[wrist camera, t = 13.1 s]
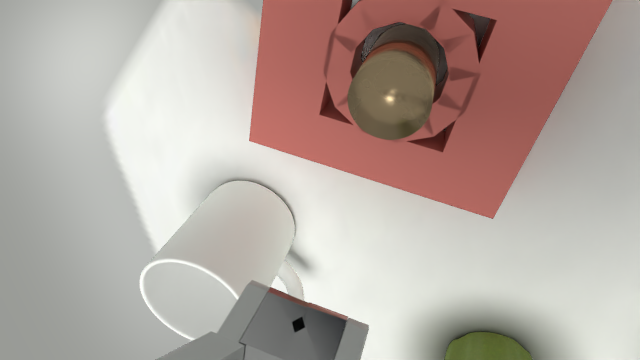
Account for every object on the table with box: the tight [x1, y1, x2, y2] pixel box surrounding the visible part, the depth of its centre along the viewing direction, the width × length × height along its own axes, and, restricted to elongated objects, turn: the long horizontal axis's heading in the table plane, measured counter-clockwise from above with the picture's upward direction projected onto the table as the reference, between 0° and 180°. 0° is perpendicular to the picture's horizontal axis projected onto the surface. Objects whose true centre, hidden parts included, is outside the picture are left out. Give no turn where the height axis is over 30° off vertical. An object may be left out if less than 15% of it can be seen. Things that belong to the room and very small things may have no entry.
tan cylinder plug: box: [347, 24, 439, 140], centre depth 24 cm, size 4×4×7 cm
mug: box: [140, 181, 304, 340], centre depth 34 cm, size 12×8×10 cm
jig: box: [249, 0, 612, 219], centre depth 26 cm, size 17×15×3 cm
